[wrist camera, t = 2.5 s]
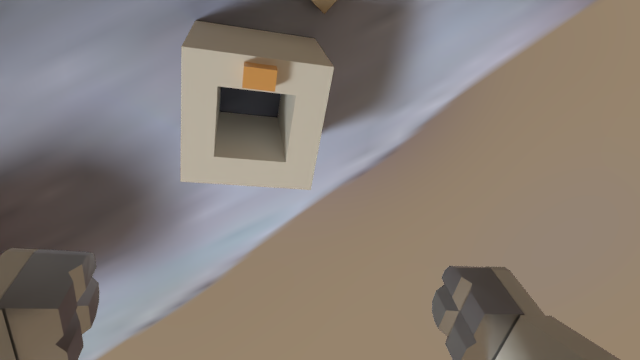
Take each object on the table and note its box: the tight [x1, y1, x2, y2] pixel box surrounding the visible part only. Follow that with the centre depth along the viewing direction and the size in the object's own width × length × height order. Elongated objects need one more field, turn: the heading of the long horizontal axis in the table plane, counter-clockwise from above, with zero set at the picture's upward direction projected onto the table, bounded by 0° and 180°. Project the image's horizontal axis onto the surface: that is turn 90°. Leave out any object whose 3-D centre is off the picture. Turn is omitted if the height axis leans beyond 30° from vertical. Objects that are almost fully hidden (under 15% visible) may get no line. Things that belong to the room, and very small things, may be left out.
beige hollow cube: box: [181, 21, 334, 190], centre depth 18 cm, size 6×6×6 cm
